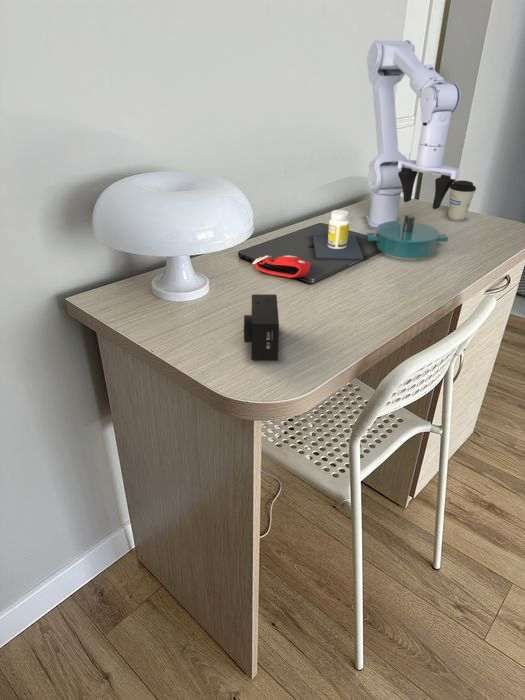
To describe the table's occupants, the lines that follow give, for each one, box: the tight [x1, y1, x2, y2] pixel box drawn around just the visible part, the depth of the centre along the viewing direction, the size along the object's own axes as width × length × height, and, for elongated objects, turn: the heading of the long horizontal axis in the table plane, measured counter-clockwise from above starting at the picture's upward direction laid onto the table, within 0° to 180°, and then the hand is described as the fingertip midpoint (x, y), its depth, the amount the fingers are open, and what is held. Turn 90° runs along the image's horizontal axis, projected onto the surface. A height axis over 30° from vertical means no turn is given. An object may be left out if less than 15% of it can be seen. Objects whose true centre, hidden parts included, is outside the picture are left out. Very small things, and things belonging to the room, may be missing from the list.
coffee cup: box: [447, 179, 477, 220], centre depth 142 cm, size 7×7×10 cm
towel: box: [312, 235, 364, 260], centre depth 125 cm, size 14×11×1 cm
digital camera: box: [243, 293, 280, 361], centre depth 85 cm, size 10×5×7 cm, turn 1°
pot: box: [365, 232, 449, 259], centre depth 123 cm, size 14×19×4 cm
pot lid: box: [375, 214, 440, 244], centre depth 121 cm, size 15×15×5 cm
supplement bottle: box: [327, 209, 350, 249], centre depth 122 cm, size 5×5×8 cm
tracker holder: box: [252, 254, 312, 279], centre depth 111 cm, size 12×4×10 cm
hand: (421, 204), depth 121 cm, fingers open, 7 cm apart
